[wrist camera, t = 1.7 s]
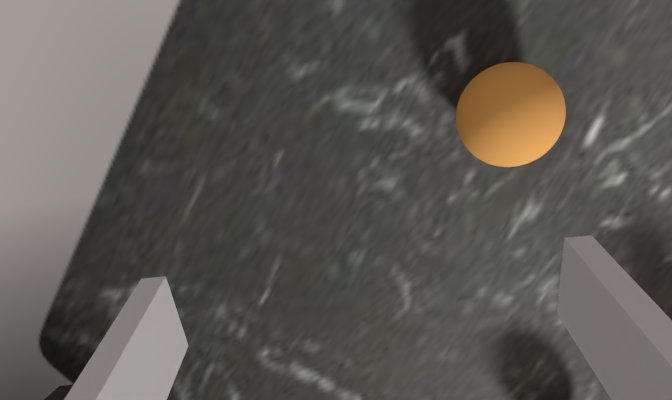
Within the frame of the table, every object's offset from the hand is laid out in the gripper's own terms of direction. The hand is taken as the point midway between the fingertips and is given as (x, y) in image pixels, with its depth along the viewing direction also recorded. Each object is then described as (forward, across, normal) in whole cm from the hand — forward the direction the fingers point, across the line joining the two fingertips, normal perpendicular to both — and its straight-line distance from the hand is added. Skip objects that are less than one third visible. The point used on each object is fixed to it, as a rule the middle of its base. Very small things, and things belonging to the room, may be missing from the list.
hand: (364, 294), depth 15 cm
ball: (+15, -9, 0) cm, 18 cm away
